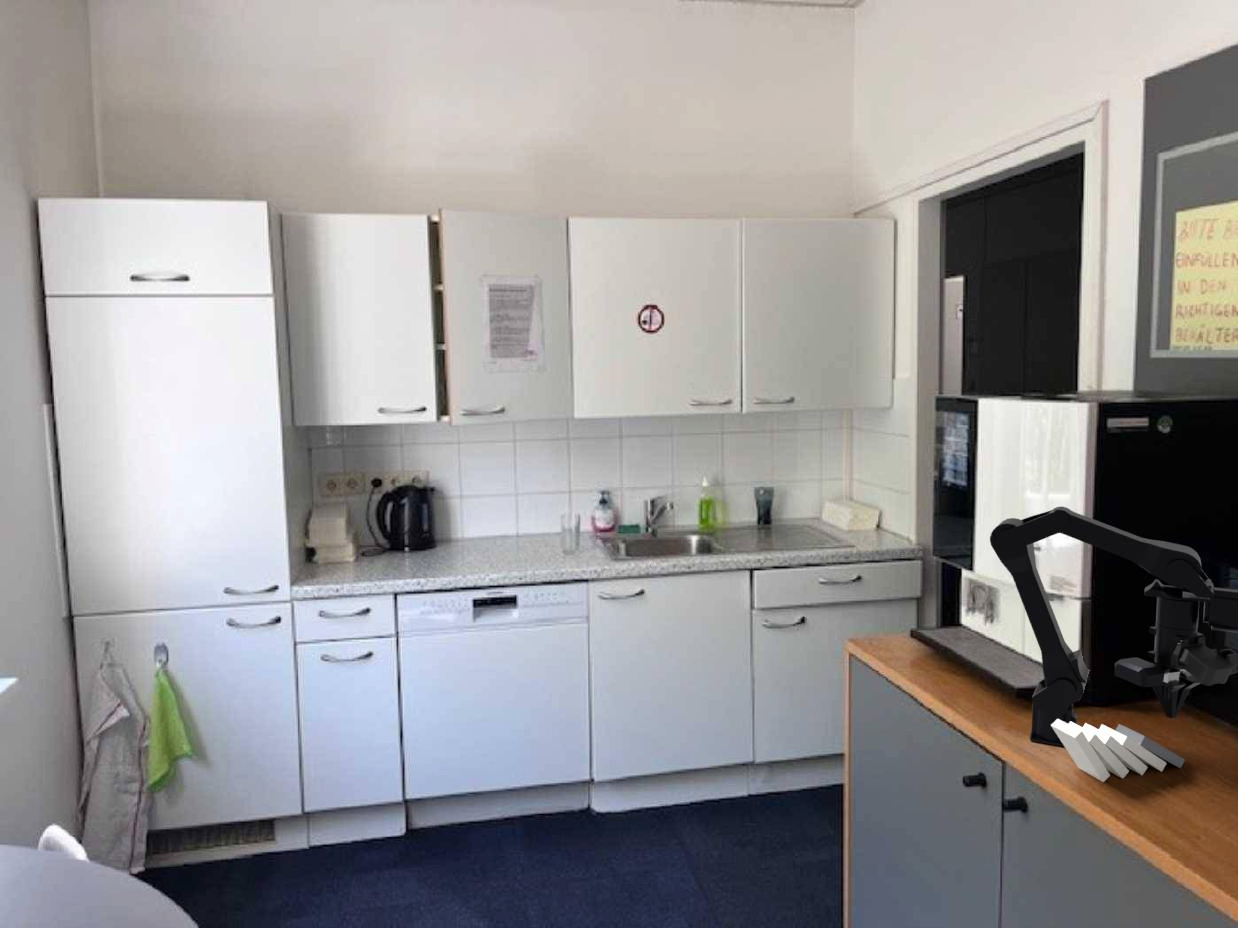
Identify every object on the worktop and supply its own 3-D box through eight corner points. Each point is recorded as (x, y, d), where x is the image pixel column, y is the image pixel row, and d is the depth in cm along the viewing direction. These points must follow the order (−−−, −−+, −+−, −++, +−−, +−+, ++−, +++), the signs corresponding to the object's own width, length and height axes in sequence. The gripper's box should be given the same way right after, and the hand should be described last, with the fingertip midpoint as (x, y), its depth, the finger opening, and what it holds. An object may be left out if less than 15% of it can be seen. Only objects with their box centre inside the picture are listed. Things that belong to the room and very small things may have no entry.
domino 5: (1180, 768, 142) (1140, 745, 139) (1153, 755, 146) (1114, 732, 143) (1185, 759, 142) (1144, 736, 139) (1158, 746, 146) (1118, 723, 144)
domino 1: (1103, 782, 137) (1074, 737, 135) (1078, 768, 142) (1050, 725, 140) (1110, 775, 138) (1082, 730, 135) (1085, 761, 142) (1057, 718, 140)
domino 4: (1161, 771, 141) (1122, 745, 138) (1135, 758, 145) (1096, 732, 142) (1166, 763, 141) (1127, 736, 138) (1140, 749, 145) (1101, 723, 143)
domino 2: (1122, 778, 138) (1088, 741, 136) (1097, 764, 143) (1064, 728, 141) (1129, 770, 139) (1095, 733, 136) (1103, 757, 143) (1070, 721, 141)
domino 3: (1142, 775, 140) (1104, 743, 137) (1116, 761, 144) (1079, 730, 141) (1147, 767, 140) (1110, 735, 137) (1122, 753, 144) (1085, 722, 142)
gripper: (1175, 646, 131) (1169, 745, 133) (1269, 633, 136) (1262, 729, 138) (1114, 624, 142) (1109, 717, 144) (1204, 614, 147) (1198, 703, 149)
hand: (1170, 717), depth 143 cm, fingers closed
